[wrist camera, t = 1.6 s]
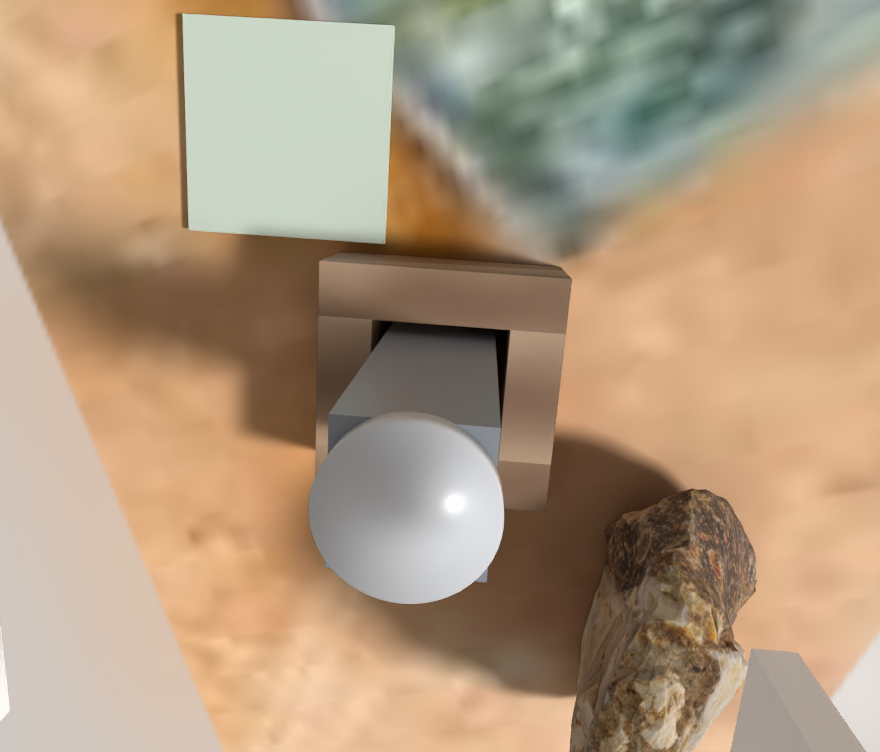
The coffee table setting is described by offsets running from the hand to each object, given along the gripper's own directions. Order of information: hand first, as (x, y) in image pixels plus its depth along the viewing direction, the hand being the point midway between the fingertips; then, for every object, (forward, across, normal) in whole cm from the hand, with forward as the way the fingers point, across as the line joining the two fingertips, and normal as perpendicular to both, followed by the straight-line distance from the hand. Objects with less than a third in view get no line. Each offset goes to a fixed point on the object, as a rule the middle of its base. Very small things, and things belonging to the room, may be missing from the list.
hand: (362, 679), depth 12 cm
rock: (+22, +11, -11) cm, 27 cm away
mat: (+22, -7, +10) cm, 25 cm away
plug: (+22, 0, 0) cm, 22 cm away
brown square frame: (+22, 0, 0) cm, 22 cm away
